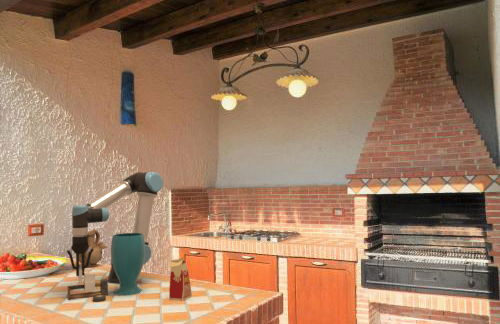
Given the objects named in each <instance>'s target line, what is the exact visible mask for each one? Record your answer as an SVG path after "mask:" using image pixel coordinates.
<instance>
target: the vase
mask: <svg viewBox="0 0 500 324" xmlns="http://www.w3.org/2000/svg"><path fill="white" fill-rule="evenodd" d="M110 244H111V245H110V260H111V259H112V264H113V268H114V270H115V273H116V275H117V277H118V279H119V281H120V283H119V287H118V288H117V289H116V291H115V292H113V294H114V295H117V296H132V295H133V294H134V295H137V293H138V294H141V293H142V292H143V291H142V290H143V289H142V288H140V287H139V286H138V284H137V281H138V279H139V276H140V274H141V271H142V269H143V267H144V265H143V263H144V259H145V240H144V235H143V234H141V233H133V232H127V233H126V232H125V233H116V234H113V235H112V237H111V243H110ZM141 291H142V292H141ZM140 292H141V293H140Z"/></svg>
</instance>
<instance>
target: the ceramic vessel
mask: <svg viewBox="0 0 500 324" xmlns="http://www.w3.org/2000/svg"><path fill="white" fill-rule="evenodd" d="M87 236H88V245H89V247H90V248H93V252H92V253H91V257H90V261H89V265H88V268H96V267H97V266H98V265H97V264H98V263H99V262H101V260H102V257H103V250H104V249H106V248H108V246H107V245H105V244H104V243H103V241H100V237H101V234H100V232H99V231H98V230H97V229H94V228H93V229H90V230H88V235H87ZM88 253H89V251H88V250H87V251H86V252H85V255H84V266H85V264H86V260H87V256H88ZM79 264H81V254H79Z"/></svg>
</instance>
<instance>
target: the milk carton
mask: <svg viewBox="0 0 500 324" xmlns="http://www.w3.org/2000/svg"><path fill="white" fill-rule="evenodd" d="M170 262H171V265H170V274H169V275H170V276H169V287H168V289H169V292H168V293H169V294H168V295H169V297H168V300H170V301H171V300H174V301H185V300H188V299H189V298H190V297H192V296H193V294H192V293H193V292H192V286H191V285H192V284H191V279H190V274H189V269H188V264H187V261H185V257H181V258H179V259H171V260H170Z"/></svg>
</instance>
